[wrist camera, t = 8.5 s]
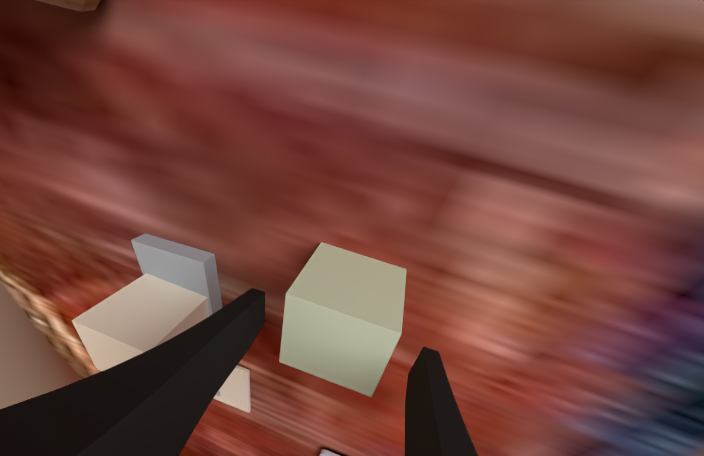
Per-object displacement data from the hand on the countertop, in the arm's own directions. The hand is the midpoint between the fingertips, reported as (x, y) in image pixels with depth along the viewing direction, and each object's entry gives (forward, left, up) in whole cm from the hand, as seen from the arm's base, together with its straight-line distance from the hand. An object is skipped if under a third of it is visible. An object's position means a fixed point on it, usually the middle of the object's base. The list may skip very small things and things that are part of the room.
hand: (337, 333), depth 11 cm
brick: (-6, +11, -2) cm, 13 cm away
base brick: (-6, +11, -4) cm, 13 cm away
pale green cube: (0, 0, -3) cm, 3 cm away
